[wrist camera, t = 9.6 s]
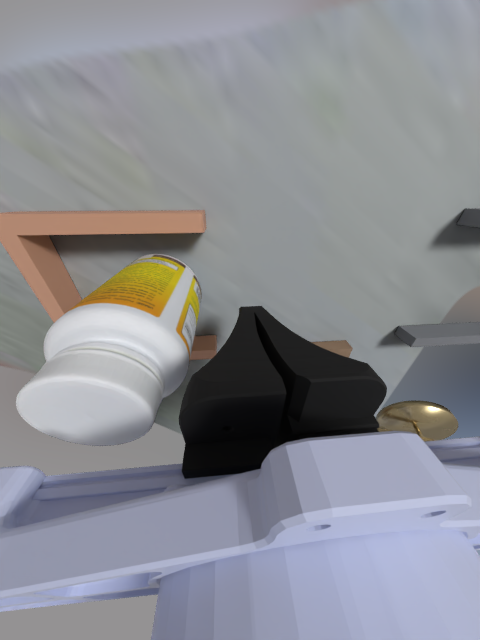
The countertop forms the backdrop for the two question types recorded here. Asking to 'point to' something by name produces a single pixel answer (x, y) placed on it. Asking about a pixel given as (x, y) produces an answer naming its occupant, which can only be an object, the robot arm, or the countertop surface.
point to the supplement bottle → (116, 355)
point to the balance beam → (418, 419)
